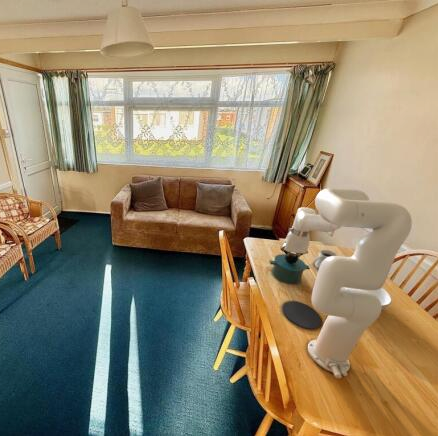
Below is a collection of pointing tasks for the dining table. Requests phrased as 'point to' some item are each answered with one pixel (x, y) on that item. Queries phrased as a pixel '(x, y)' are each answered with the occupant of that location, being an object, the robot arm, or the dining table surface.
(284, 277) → the pot
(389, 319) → the dining table surface
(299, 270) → the lid
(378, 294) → the serving bowl
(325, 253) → the mug
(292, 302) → the mat
